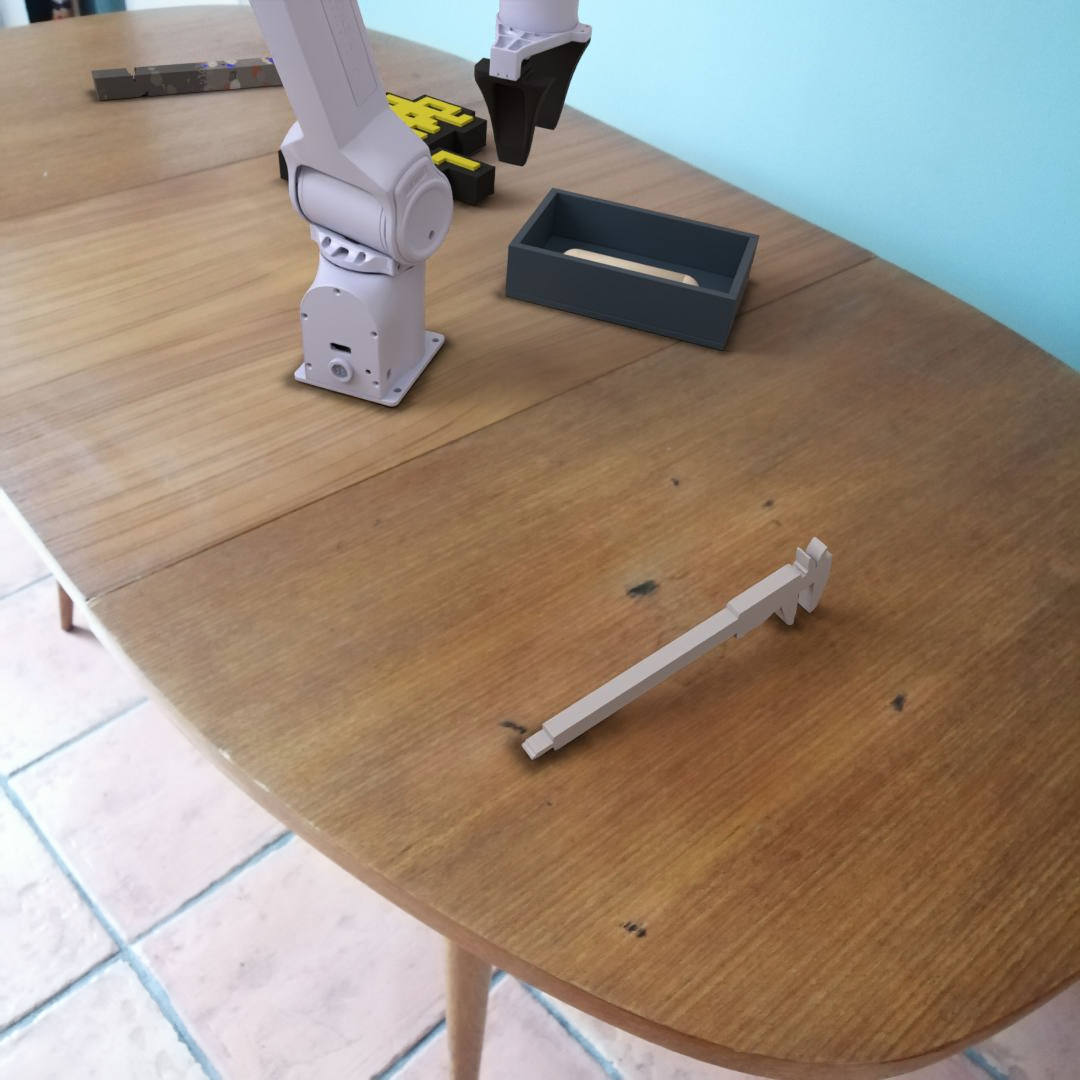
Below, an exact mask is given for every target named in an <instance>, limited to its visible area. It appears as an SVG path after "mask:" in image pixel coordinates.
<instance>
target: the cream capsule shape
mask: <svg viewBox="0 0 1080 1080" xmlns="http://www.w3.org/2000/svg"><path fill="white" fill-rule="evenodd" d="M563 254H566V255H570V256H574V257H578V258H583V259H587V260H591V261H595V262H599V263H603V264H607V265H612V266H616V267H620V268H624V269H628V270H632V271H636V272H641V273H645V274H649V275H653V276H657V277H661V278H665V279H670V280H674V281H678V282H682V283H686V284H690V285H694V286H698V283H697V282H696V281H695V280H694V279H693V278H692V277H690V276H688V275H685V274H681V273H677V272H673V271H668V270H664V269H660V268H656V267H652V266H648V265H643V264H639V263H635V262H631V261H627V260H623V259H618V258H614V257H610V256H606V255H602V254H598V253H593V252H589V251H585V250H581V249H571V250H568V251H566V252H565V253H563Z"/></svg>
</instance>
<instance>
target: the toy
mask: <svg viewBox="0 0 1080 1080" xmlns="http://www.w3.org/2000/svg"><path fill="white" fill-rule="evenodd" d="M385 93H386V97H387V100H388V103H389V106H390V108H391V109H392V110H393V111H394V112H395V113H396V114H397V116H398V117H399V118H400V119H401V120H403V121H404V122H405V123H406V124H407V125H408V126H409V127H410V128H411V129H412V130H413V131H414V132H415V133H416V134H417V135H418V136H419V137H420V138H421V139H422V140H423V141H424V142H425V143H426V145H427V146H428V147H429V150H430V154H431V157H432V160H433V163H434V165H435V166H436V168H437V169H438V170H439V171H441V172H442V173H443V174H444V175H445V176H446V177H447V179H448V181H449V183H450V186H451V190H452V197H453V198H455V199H457V200H460V201H462V202H466V203H468V204H471V205H474V206H478V205H479V204H480V203H482V202H483V201H485V200H486V199H488V198H489V197H491V196H492V195H495V187H496V185H495V183H496V169H497V168H496V166H495V165H492V164H489V163H487V162H483V161H481V160H478V159H475V158H472V157H471V155H473V154H475V153H477V152H478V151H480V150H482V149H483V148H485V147H486V146H487V137H488V135H487V133H488V120H487V119H485V118H483V117H479V116H476V110H474V109H470V108H467V107H464V106H462V105H458V104H455V103H451V102H449V101H446V100H443V99H440V98H436V97H434V96H431V95H428V94H421V95H420V96H418V97H416V98H414V99H409V98H407V97H404V96H402V95H398V94H395V93H392V92H389V91H385ZM277 155H278V166H279V175H280V179H281V180H283V181H286V182H289V173H288V167H287V163H286V160H285V157H284V155H283V153H282V151H281V149H279V150H277Z"/></svg>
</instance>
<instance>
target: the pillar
mask: <svg viewBox="0 0 1080 1080" xmlns="http://www.w3.org/2000/svg"><path fill="white" fill-rule="evenodd" d="M133 70H134V74H131V73H130V72H129V71H128V69H127V67H121V68H109V69H108V68H107V69H93V70H90V73H91V77H92V81H93V86H94V90H95V95H96V96H97V99H98V101H107V100H108V101H109V100H119V99H129V98H131V99H132V98H142V96H149V97H154V96H165V95H167V96H168V95H177V94H191V93H201V92H211V91H212V92H213V91H214V92H215V91H224V90H236V89H247V88H258V87H260V88H261V87H269V86H271V87H272V86H281V85H282V86H283V84H282V81H281V79H280V76H279V74H278V71H277V69H276V66H275V64H274V61H273V59H272V57H271V56H266V57H265V56H264V57H254V58H239V59H227V60H215V61H214V60H213V61H202V62H201V61H200V62H186V63H172V64H159V65H148V66H135V67H133Z"/></svg>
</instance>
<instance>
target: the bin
mask: <svg viewBox="0 0 1080 1080" xmlns="http://www.w3.org/2000/svg"><path fill="white" fill-rule="evenodd" d="M759 239H760V234H757V233H756V234H755V233H753V232H748V231H743V230H738V229H734V228H730V227H725V226H722V225H717V224H713V223H709V222H704V221H699V220H696V219H690V218H686V217H682V216H677V215H673V214H670V213H664V212H660V211H656V210H651V209H647V208H644V207H639V206H636V205H635V206H634V205H630V204H625V203H621V202H618V201H612V200H608V199H603V198H600V197H595V196H591V195H587V194H582V193H578V192H574V191H570V190H565V189H562V188H561V189H560V188H556V187H551V189H550V190H549V191H548V192H547V194H546V195H545V196H544V198H543V199H542V201H540V203H539V204H538V205H537V207H535V210H534V211H533V212H532V213H531V215H530V216H529V218H528V219H527V220H526V221H525V223H524V224H523V225H522V227H521V228H520V229H519V231H518V232H517V233H516V235H515V236H514V237H513V239H512V240H511V241H510V243H509V244H508V246H507V247H508V248H507V260H506V263H507V264H506V276H505V278H506V279H505V292H504V296H506V297H509V298H513V299H516V300H521V301H525V302H529V303H532V304H536V305H540V306H545V307H548V308H553V309H556V310H560V311H564V312H569V313H572V314H577V315H581V316H583V317H584V316H585V317H588V318H592V319H596V320H600V321H605V322H608V323H612V324H616V325H620V326H624V327H628V328H631V329H635V330H640V331H643V332H644V331H645V332H648V333H652V334H656V335H660V336H664V337H668V338H672V339H676V340H679V341H683V342H688V343H690V344H695V345H700V346H703V347H707V348H712V349H715V350H719V351H724V350H725V347H726V344H727V341H728V338H729V336H730V333H731V330H732V327H733V324H734V321H735V318H736V316H737V313H738V310H739V308H740V304H741V302H742V299H743V297H744V294H745V291H746V289H747V286H748V284H749V283H748V282H749V279H750V275H751V272H752V266H753V263H754V259H755V254H756V251H757V248H758V244H759ZM571 249H581V250H585V251H589V252H593V253H598V254H602V255H606V256H610V257H614V258H618V259H623V260H627V261H631V262H635V263H639V264H643V265H648V266H652V267H656V268H660V269H664V270H668V271H673V272H677V273H681V274H685V275H688V276H690V277H692V278H693V279H694V280H695V281H696V282H697V283H698V286H694V285H690V284H686V283H682V282H678V281H674V280H670V279H665V278H661V277H657V276H653V275H649V274H645V273H641V272H636V271H632V270H628V269H624V268H620V267H616V266H612V265H607V264H603V263H599V262H595V261H591V260H587V259H583V258H578V257H574V256H570V255H566V254H563V253H565V252H566V251H568V250H571Z"/></svg>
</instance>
